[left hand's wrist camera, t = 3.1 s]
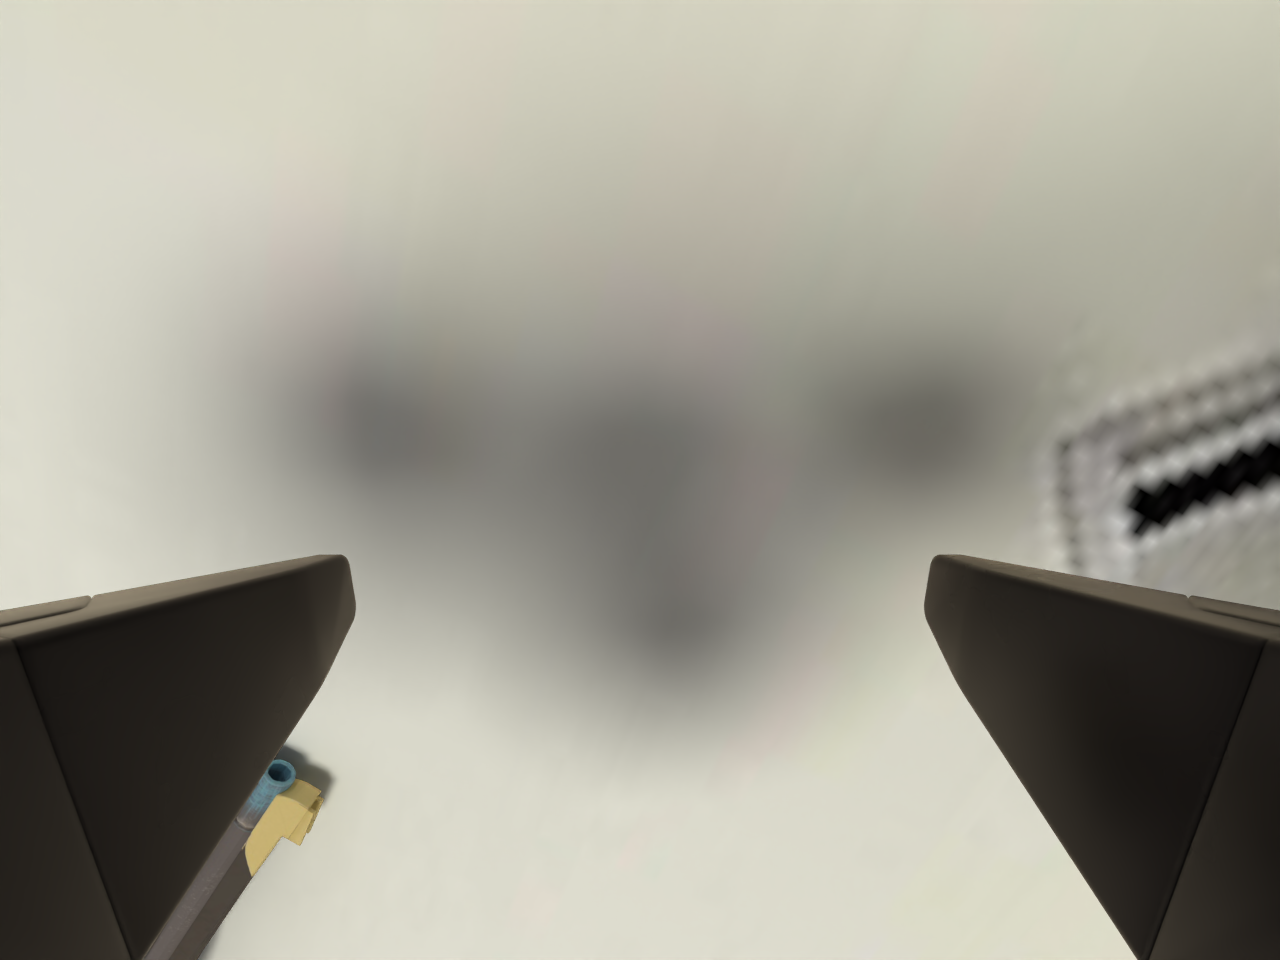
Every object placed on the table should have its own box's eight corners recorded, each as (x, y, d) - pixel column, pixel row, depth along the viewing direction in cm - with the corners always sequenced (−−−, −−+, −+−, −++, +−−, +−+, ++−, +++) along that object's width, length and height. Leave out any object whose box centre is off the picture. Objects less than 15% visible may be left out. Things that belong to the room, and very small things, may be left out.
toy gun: (-224, 1064, 24) (48, 1207, 25) (-13, 639, 20) (308, 833, 21) (-135, 988, 27) (108, 1121, 28) (69, 598, 22) (350, 772, 23)
